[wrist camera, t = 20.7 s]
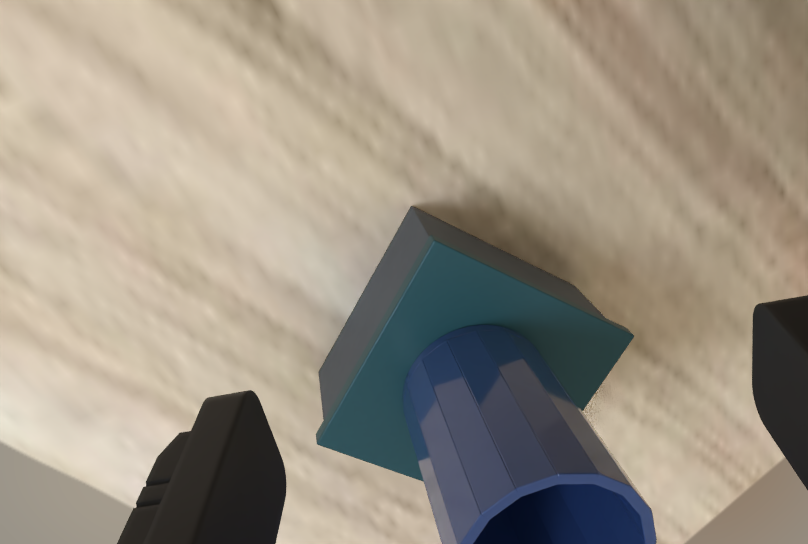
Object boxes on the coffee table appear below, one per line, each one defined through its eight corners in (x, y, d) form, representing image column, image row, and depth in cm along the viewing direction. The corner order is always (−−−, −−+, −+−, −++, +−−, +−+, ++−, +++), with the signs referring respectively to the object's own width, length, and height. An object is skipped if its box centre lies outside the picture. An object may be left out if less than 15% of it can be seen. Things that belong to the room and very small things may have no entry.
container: (408, 197, 34) (434, 239, 28) (582, 283, 37) (635, 336, 32) (310, 374, 36) (316, 445, 31) (480, 439, 40) (512, 513, 34)
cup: (450, 300, 29) (528, 445, 20) (574, 357, 32) (694, 511, 22) (375, 424, 31) (416, 608, 22) (497, 470, 33) (580, 656, 24)
